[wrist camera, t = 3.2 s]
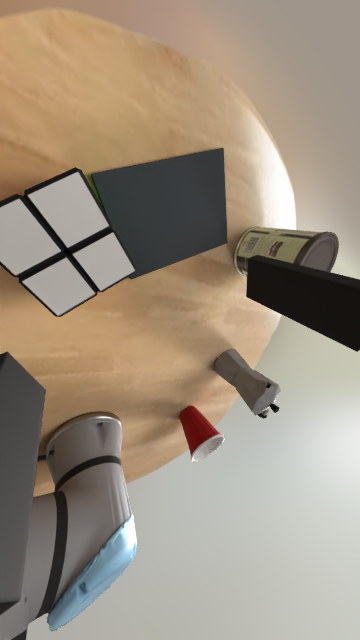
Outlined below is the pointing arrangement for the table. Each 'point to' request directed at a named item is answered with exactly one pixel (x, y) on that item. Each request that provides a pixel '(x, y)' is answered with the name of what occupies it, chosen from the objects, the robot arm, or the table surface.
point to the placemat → (166, 208)
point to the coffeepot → (248, 383)
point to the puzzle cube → (61, 243)
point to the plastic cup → (199, 434)
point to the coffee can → (287, 247)
